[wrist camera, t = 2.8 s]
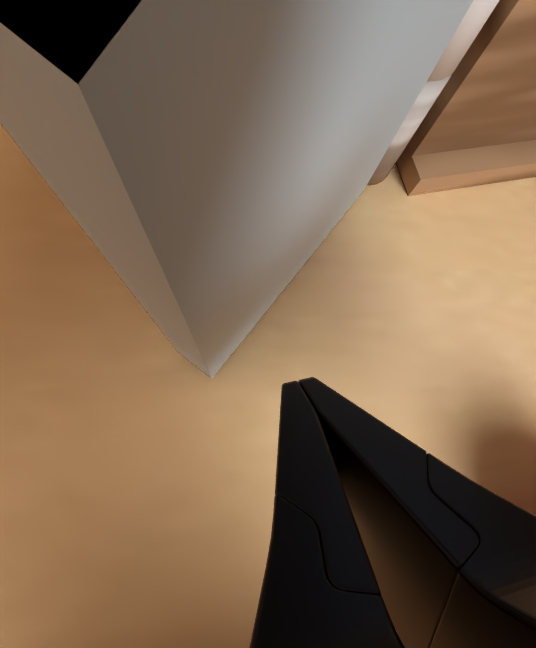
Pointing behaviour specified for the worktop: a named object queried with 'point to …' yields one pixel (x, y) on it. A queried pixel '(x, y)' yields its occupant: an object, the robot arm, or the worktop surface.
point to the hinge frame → (474, 113)
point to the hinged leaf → (217, 134)
